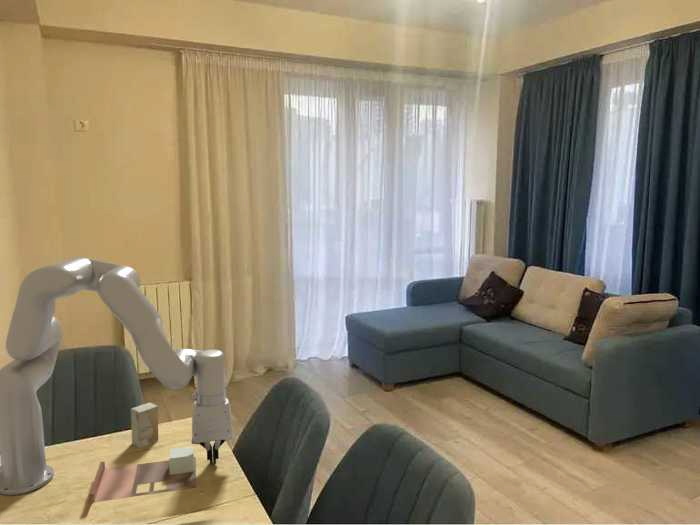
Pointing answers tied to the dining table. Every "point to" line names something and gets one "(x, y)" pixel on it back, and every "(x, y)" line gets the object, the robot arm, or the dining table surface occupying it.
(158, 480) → the track
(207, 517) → the dining table surface
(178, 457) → the sage block
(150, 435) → the skincare box
